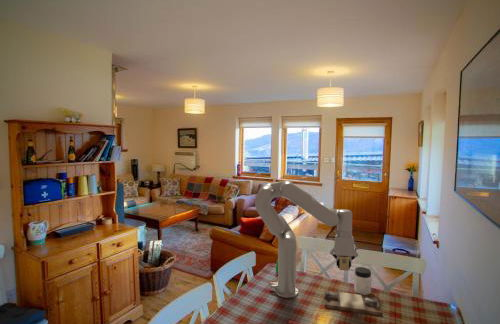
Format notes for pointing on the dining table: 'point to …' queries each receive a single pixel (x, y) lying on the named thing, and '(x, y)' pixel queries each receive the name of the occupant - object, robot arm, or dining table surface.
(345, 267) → the brass coupler
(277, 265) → the mechanical part
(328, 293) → the coupling jig
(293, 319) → the dining table surface
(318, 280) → the dining table surface
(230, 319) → the dining table surface
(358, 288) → the jar
